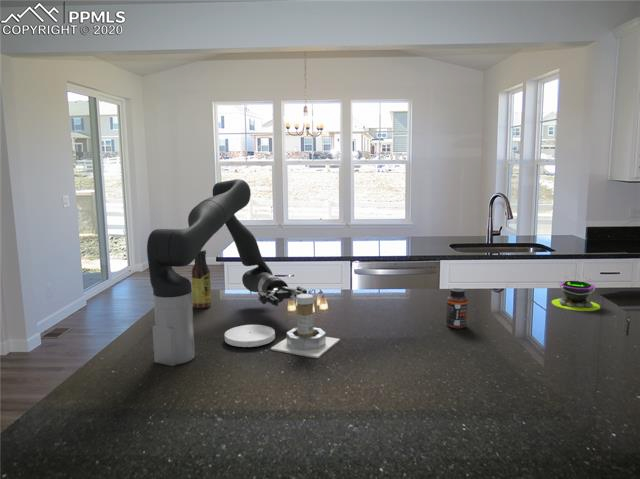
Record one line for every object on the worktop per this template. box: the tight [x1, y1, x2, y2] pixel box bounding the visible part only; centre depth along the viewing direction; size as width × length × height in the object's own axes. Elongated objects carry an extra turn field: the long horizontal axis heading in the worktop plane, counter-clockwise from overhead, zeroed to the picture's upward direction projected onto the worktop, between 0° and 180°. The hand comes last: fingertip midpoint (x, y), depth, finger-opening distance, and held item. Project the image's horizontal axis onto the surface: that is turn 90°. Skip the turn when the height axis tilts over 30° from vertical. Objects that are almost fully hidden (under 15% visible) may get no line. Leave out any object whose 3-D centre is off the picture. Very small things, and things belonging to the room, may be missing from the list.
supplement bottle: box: [445, 288, 468, 330], centre depth 149 cm, size 6×6×11 cm
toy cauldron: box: [551, 272, 601, 312], centre depth 171 cm, size 15×15×11 cm
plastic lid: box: [224, 324, 276, 348], centre depth 139 cm, size 14×14×2 cm
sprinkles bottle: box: [295, 293, 314, 338], centre depth 134 cm, size 5×5×13 cm
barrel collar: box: [286, 326, 327, 351], centre depth 135 cm, size 10×10×3 cm
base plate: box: [270, 336, 341, 359], centre depth 135 cm, size 14×14×1 cm
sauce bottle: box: [191, 248, 212, 309], centre depth 171 cm, size 7×6×20 cm
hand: (290, 300), depth 144 cm, fingers open, 8 cm apart
